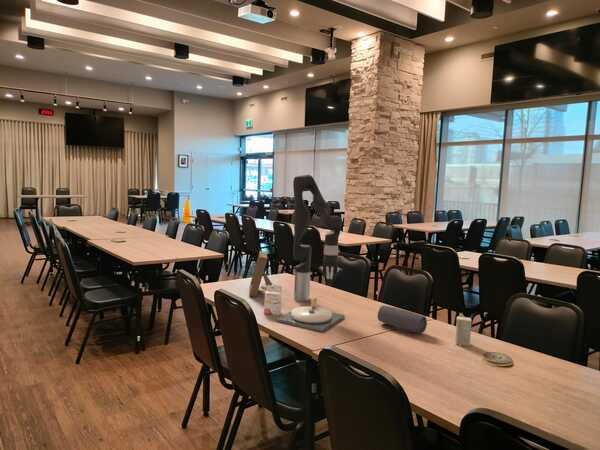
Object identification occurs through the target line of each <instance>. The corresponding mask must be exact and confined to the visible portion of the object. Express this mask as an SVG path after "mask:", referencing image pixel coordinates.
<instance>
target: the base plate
mask: <svg viewBox="0 0 600 450" xmlns="http://www.w3.org/2000/svg"><path fill="white" fill-rule="evenodd" d="M300 307H304V306H303V305H301V306H300ZM345 317H346V316H345V314H341V313H337V312H332V319H331V320H329V321H327V322H323V323H305V322H300V321H297V320H295V319H293V318H292V317H291V311H289V312H287V313H285V314H283V315H281V316H279V317H277V318H276V322H277V323H281V324H285V325H290V326H294V327H298V328H303V329H306V330H310V331H316V332H318V333H319V332H320V333H324V332H325V331H327V330H329V329H330V328H332V327H333V326H334V325H336V324H337V323H339V322H341V321H342V320H343V319H345Z"/></svg>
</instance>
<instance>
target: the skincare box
mask: <svg viewBox="0 0 600 450" xmlns="http://www.w3.org/2000/svg"><path fill="white" fill-rule="evenodd" d="M471 330H472V318H471V317H465V316H456V325H455V340H454V341H455V342H454V343H456V344H460V345H459V346H462V345H468V346H467V347H469V346H471V337H472V335H471V334H472V331H471ZM456 344H455V345H456Z"/></svg>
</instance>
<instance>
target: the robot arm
mask: <svg viewBox="0 0 600 450" xmlns="http://www.w3.org/2000/svg"><path fill="white" fill-rule="evenodd" d="M292 182H293V184H292V186H293V189H292V190H293V199H294V210H293V225H294V227H293V228H294V230H293V231H294V233H293V234H294V236H293V249H292V252H293V253H292V256H293V259H294V260H295V261H305V262H303V263H300V264H298V265H295V267H294V286H293V287H294V288H293V289H294V290H293V300H295V301H297V302H308V301H310V295H311V293H310V292H311V264H312V263H311V262H312V251H313V248H312V246H311V245H310V244H300V242H301V239H302V237H303V236H304V234H305V233H306V231H307V230H308V229H309V227H310V226H311V225H310V224H311V213H310V210H309V208H308V207H307V205H306V203H305V202H304V195H303V193H304V192H308V191H309V192H310V193H311V195H312V204H313V205H312V206H313V208H314V210H315V212H316V213H317V214H318V215H319V218H320V222H321V225H322V226H323V227H324V228H325V229H326V230H330V231H329V232H328V233H326V234H325V236H324V247H323V261H322V262H323V263H322V265H321V266H320V267H318V268H317V269H318V271H319V273H320V274H321V275H322V277H323V278H324V279H326V285H327V286H328V287H331V286H332V285H333V280H334V279H336V278H338V276H339V275H340V274H341V273H342V271H343V269H342V268H340V266H339V264H338V262H339V261H338V260H339V237H340V234H341V232H342V227H343V219H342V217H340V215H331V214H332V208H331V207H330V206H329V204H328V203H327V202H326V200H325V198H324V196H323V194H322V193H321V192H320V191H321V190H320V189H319V187H318V185H317V184H318V183H316V181H315V179H314V177H313V176H312V175H311V174H301V175H296V176H294V178H293V181H292ZM325 272H326V273H325ZM335 272H336V273H335ZM334 273H335V274H334Z"/></svg>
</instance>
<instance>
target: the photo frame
mask: <svg viewBox="0 0 600 450" xmlns="http://www.w3.org/2000/svg"><path fill="white" fill-rule="evenodd" d="M267 261H268V254H267V251H263V250H259V252H258V256H257V260H256V263H255V267H254V269H253V273H252V277H251V281H250V284H249V293H248V294H249V295H248V296H250V297H253V298H257V297H258V293H259V289H260V285H261V282H262V279H263V280H264V282H265V285H266V287H267V285H273V283H272V281H271V280H270V278H269V277H268V275H267V273H266V271H265V268H266V264H267Z"/></svg>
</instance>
